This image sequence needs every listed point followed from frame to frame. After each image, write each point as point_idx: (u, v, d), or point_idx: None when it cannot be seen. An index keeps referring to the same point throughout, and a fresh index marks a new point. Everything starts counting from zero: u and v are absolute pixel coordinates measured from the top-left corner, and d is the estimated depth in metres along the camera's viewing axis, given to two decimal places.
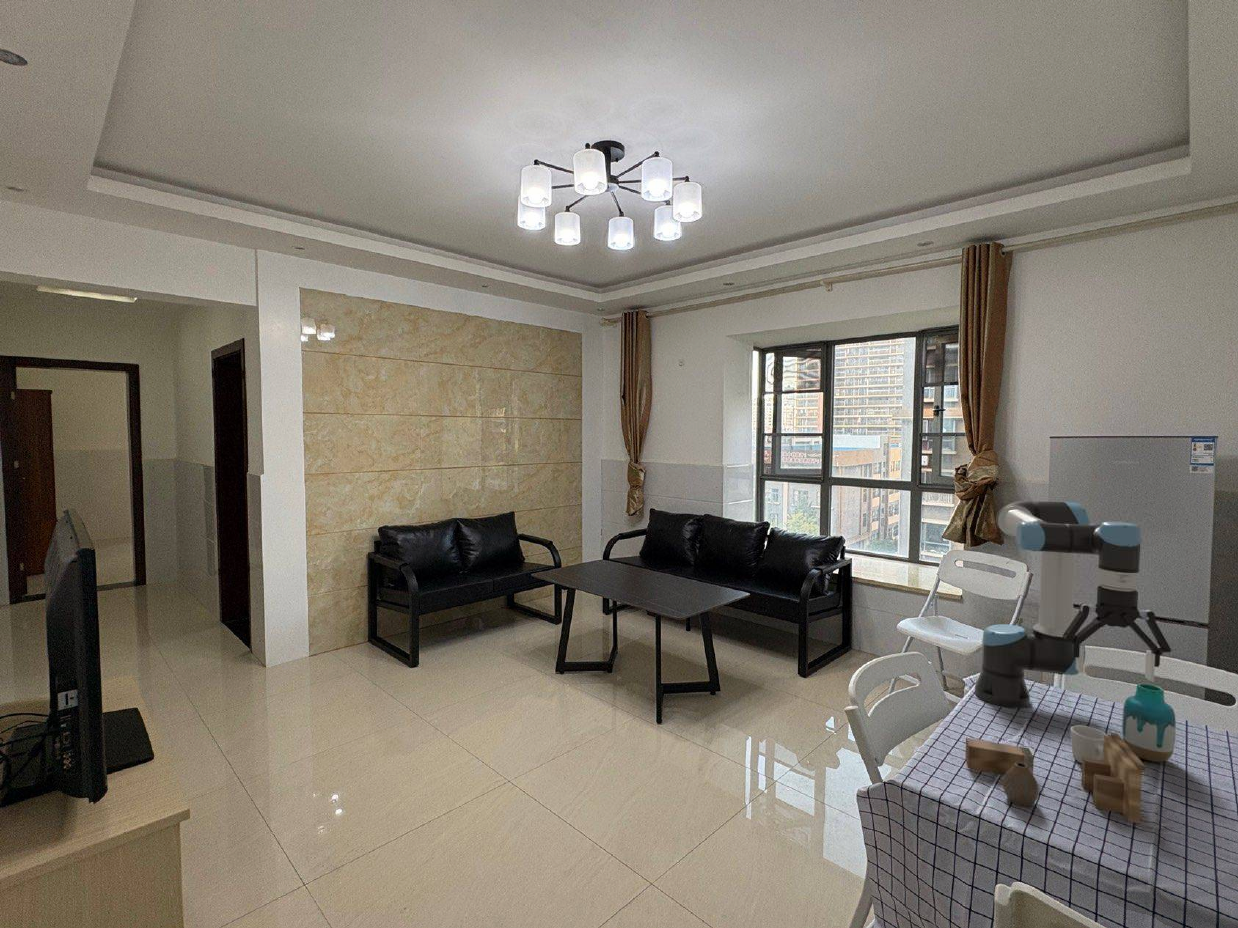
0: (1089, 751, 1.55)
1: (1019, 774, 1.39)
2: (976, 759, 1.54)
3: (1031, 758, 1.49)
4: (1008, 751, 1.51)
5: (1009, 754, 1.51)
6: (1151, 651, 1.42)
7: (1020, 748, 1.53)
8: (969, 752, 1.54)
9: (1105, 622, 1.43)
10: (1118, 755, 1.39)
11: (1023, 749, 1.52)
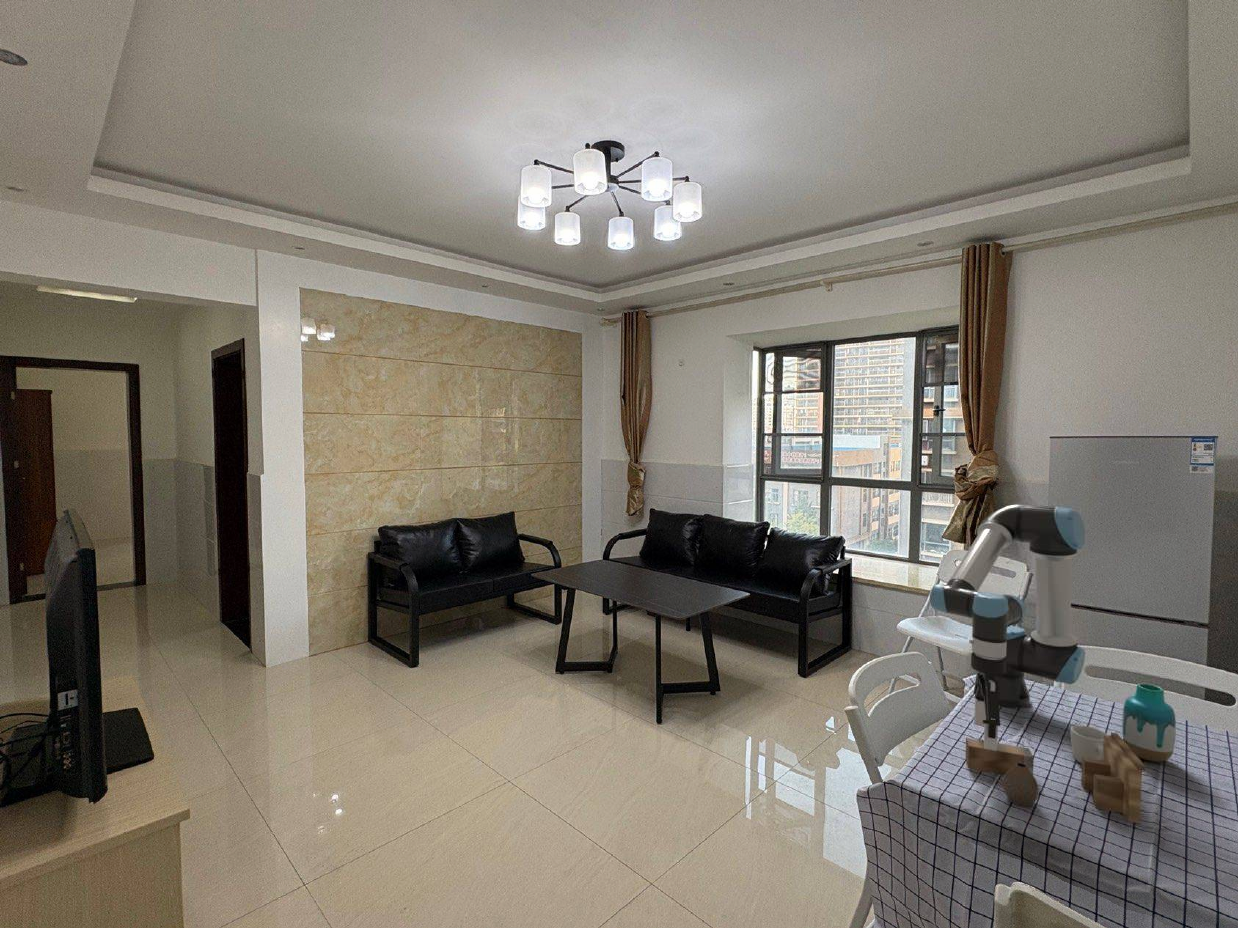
0: (1089, 751, 1.55)
1: (1019, 774, 1.39)
2: (976, 759, 1.54)
3: (1031, 758, 1.49)
4: (1008, 751, 1.51)
5: (1009, 754, 1.51)
6: None
7: (1020, 748, 1.53)
8: (969, 752, 1.54)
9: (977, 682, 1.57)
10: (1118, 755, 1.39)
11: (1023, 749, 1.52)
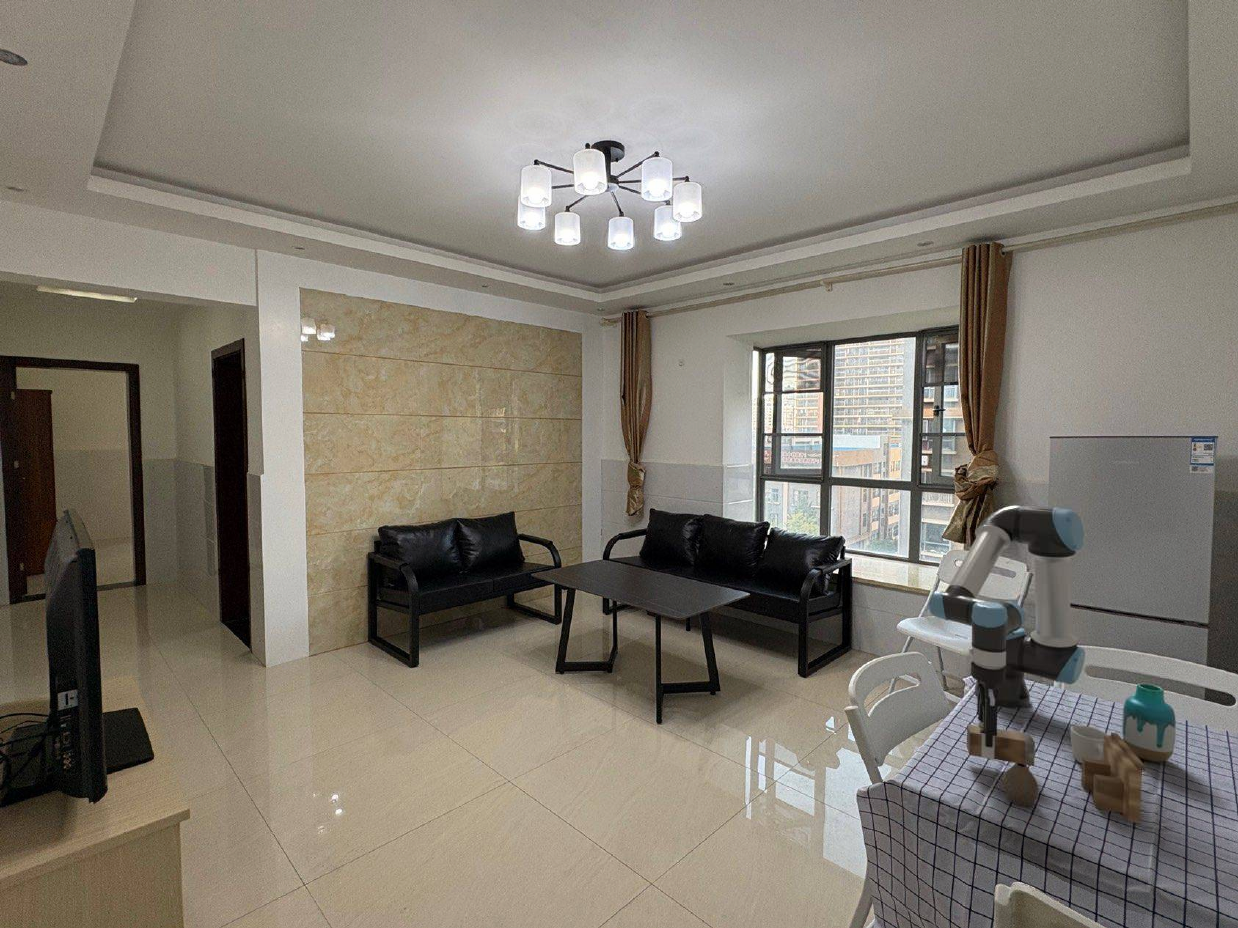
0: (1089, 751, 1.55)
1: (1019, 774, 1.39)
2: (977, 746, 1.54)
3: (1032, 744, 1.49)
4: (1010, 737, 1.51)
5: (1010, 740, 1.51)
6: None
7: (1021, 734, 1.53)
8: (970, 738, 1.54)
9: (978, 693, 1.56)
10: (1118, 755, 1.39)
11: (1024, 735, 1.52)
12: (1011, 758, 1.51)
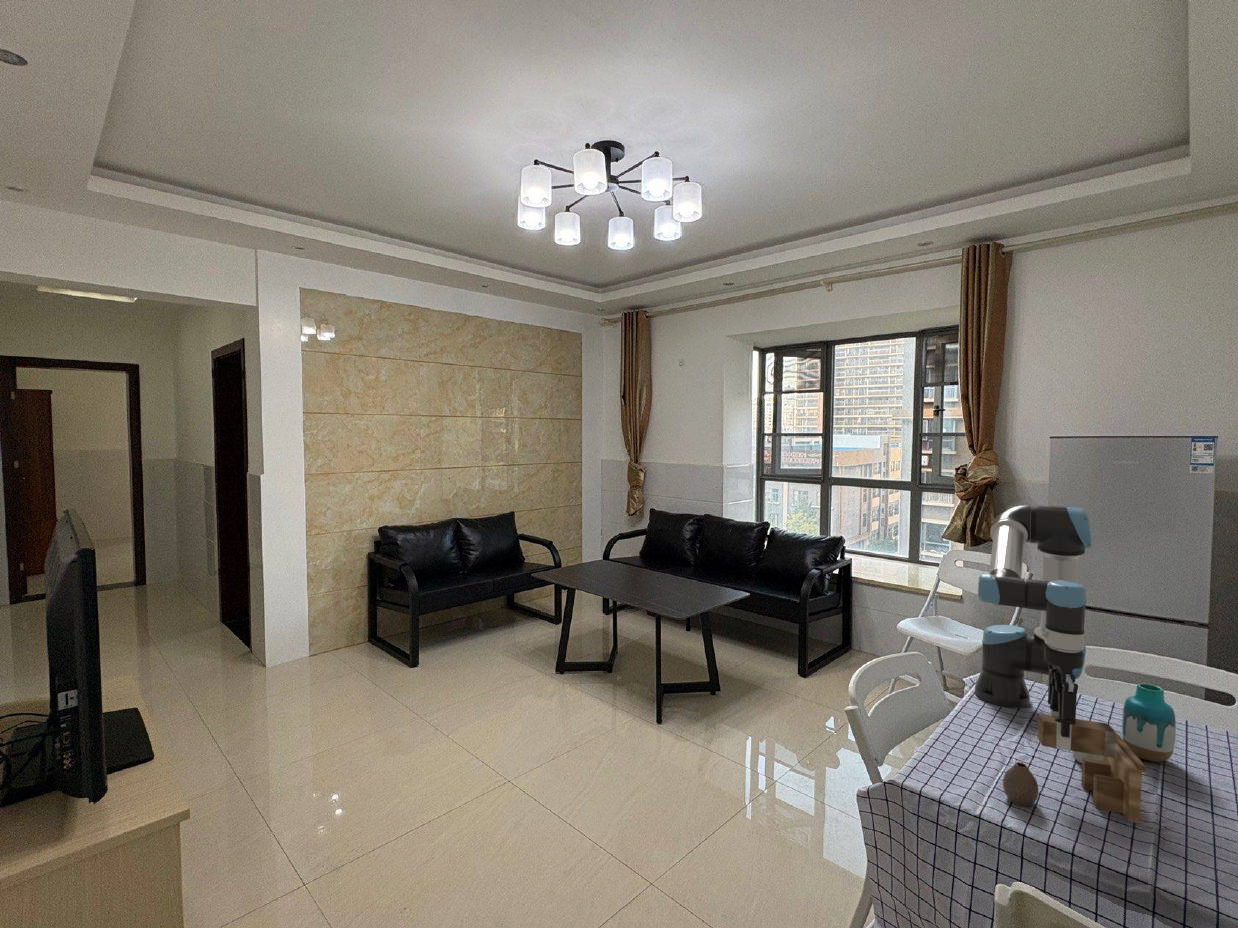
0: None
1: (1019, 774, 1.39)
2: (1051, 736, 1.43)
3: (1113, 734, 1.38)
4: (1088, 727, 1.40)
5: (1089, 730, 1.40)
6: None
7: (1099, 724, 1.42)
8: (1043, 728, 1.44)
9: (1051, 679, 1.46)
10: (1118, 755, 1.39)
11: (1103, 725, 1.42)
12: (1089, 749, 1.40)
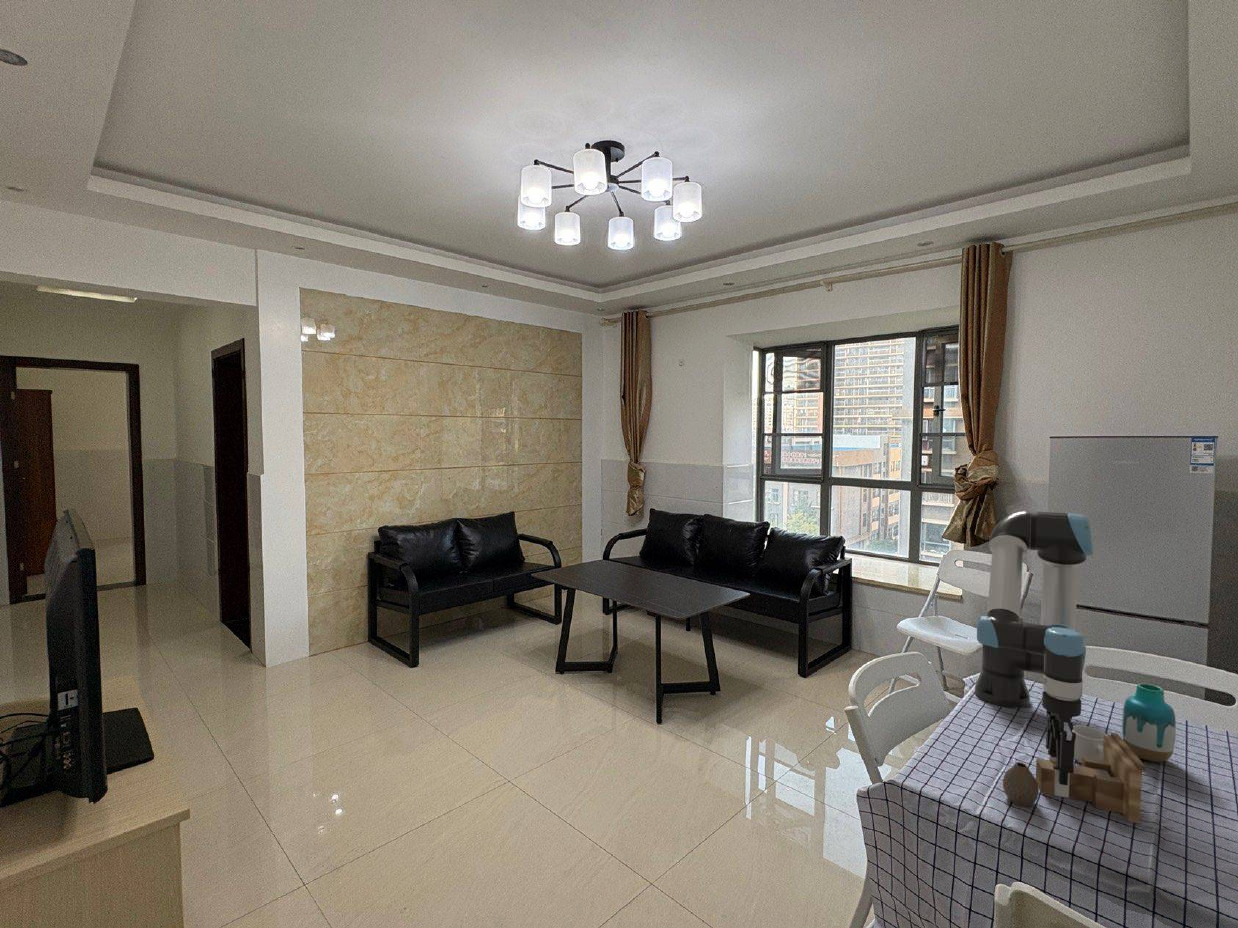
0: (1089, 751, 1.55)
1: (1019, 774, 1.39)
2: (1049, 782, 1.43)
3: None
4: (1086, 774, 1.41)
5: (1086, 777, 1.41)
6: None
7: (1097, 770, 1.43)
8: (1042, 774, 1.44)
9: (1049, 726, 1.46)
10: (1118, 755, 1.39)
11: (1101, 772, 1.42)
12: (1087, 797, 1.41)
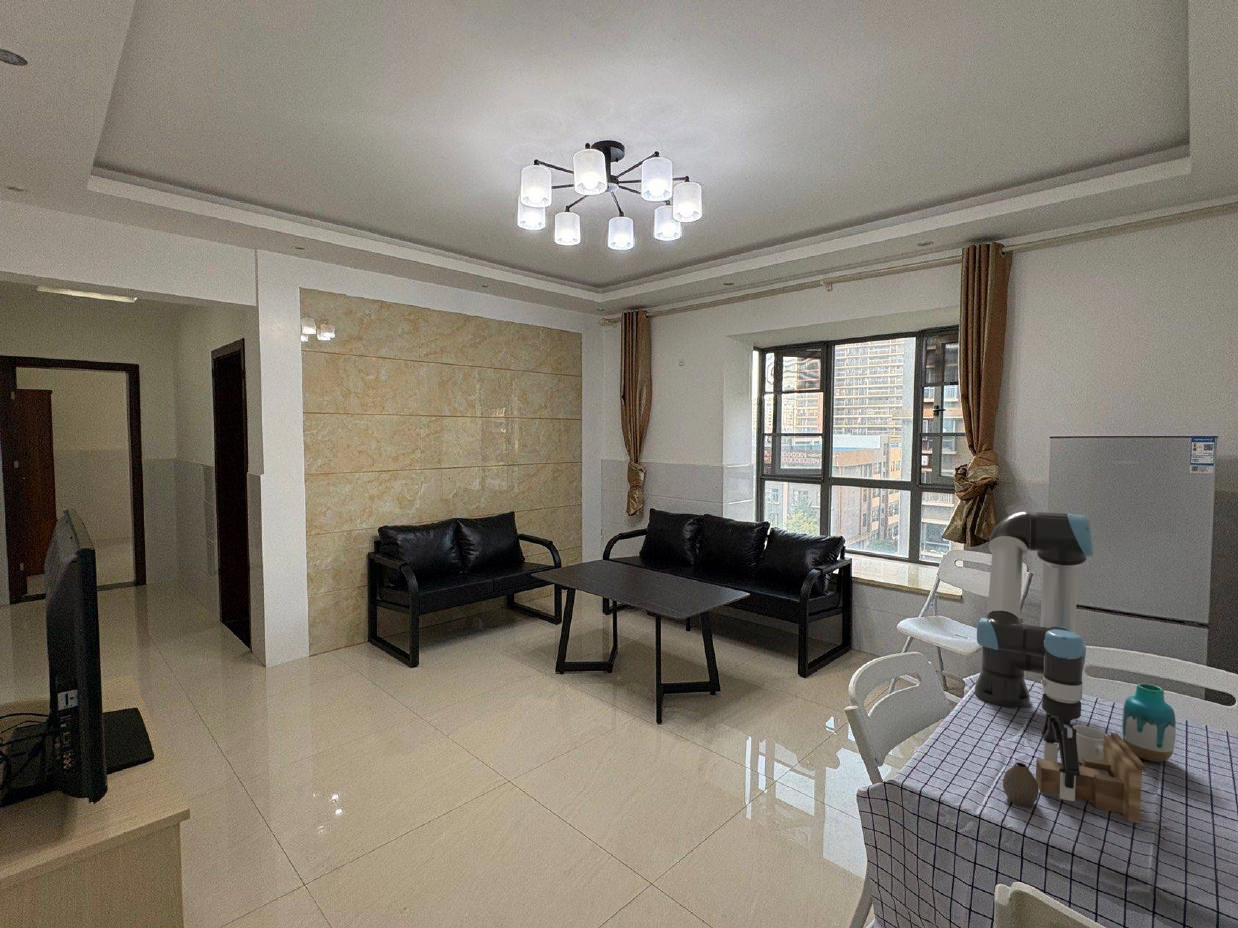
0: (1089, 751, 1.55)
1: (1019, 774, 1.39)
2: (1049, 782, 1.43)
3: None
4: (1086, 774, 1.41)
5: (1087, 777, 1.41)
6: None
7: (1097, 770, 1.43)
8: (1042, 774, 1.44)
9: (1048, 724, 1.47)
10: (1118, 755, 1.39)
11: (1101, 772, 1.42)
12: (1087, 797, 1.41)
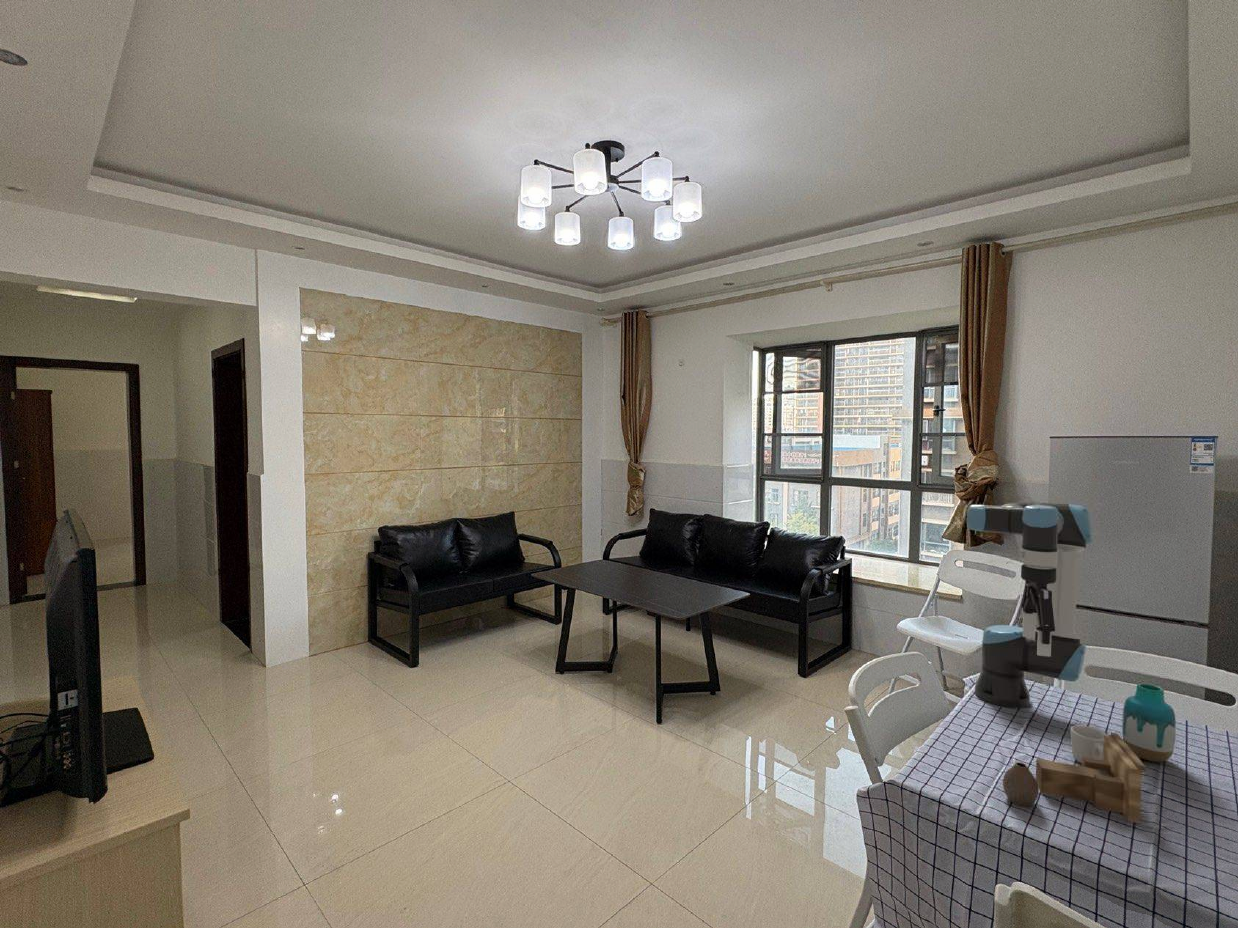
0: (1089, 751, 1.55)
1: (1019, 774, 1.39)
2: (1049, 782, 1.43)
3: None
4: (1086, 774, 1.41)
5: (1087, 778, 1.41)
6: None
7: (1097, 770, 1.43)
8: (1042, 774, 1.44)
9: (1027, 594, 1.59)
10: (1118, 755, 1.39)
11: (1101, 772, 1.42)
12: (1087, 797, 1.41)
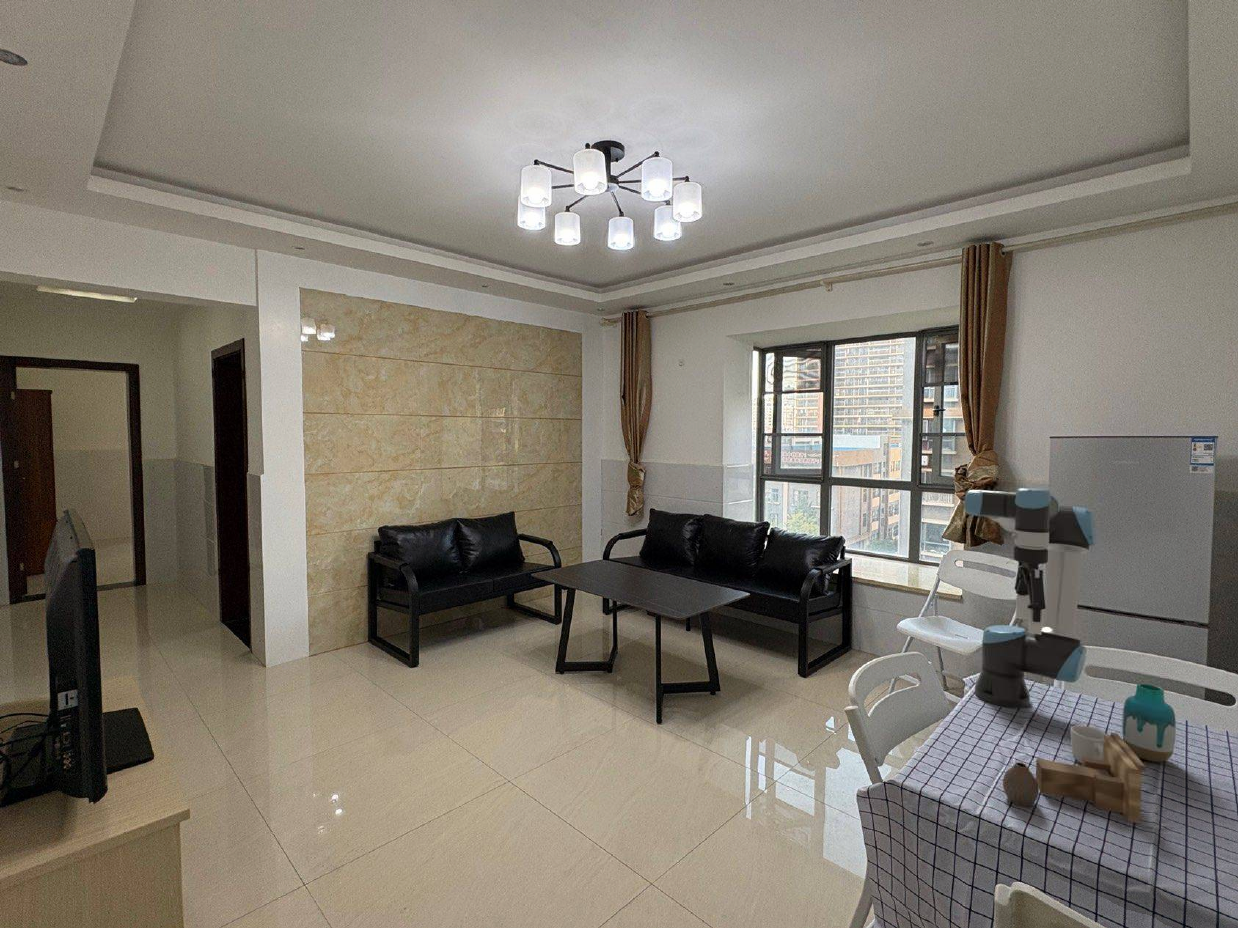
0: (1089, 751, 1.55)
1: (1019, 774, 1.39)
2: (1049, 782, 1.43)
3: None
4: (1086, 774, 1.41)
5: (1087, 778, 1.41)
6: None
7: (1097, 770, 1.43)
8: (1042, 775, 1.44)
9: (1019, 575, 1.63)
10: (1118, 755, 1.39)
11: (1101, 772, 1.42)
12: (1087, 797, 1.41)
